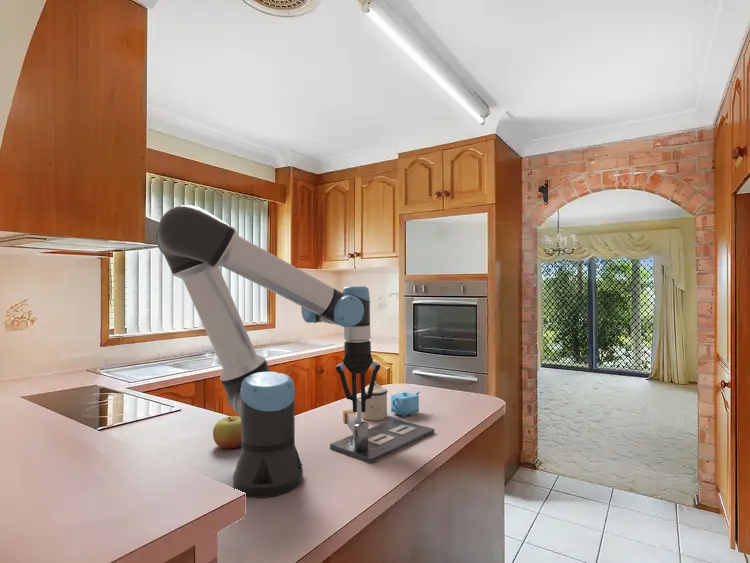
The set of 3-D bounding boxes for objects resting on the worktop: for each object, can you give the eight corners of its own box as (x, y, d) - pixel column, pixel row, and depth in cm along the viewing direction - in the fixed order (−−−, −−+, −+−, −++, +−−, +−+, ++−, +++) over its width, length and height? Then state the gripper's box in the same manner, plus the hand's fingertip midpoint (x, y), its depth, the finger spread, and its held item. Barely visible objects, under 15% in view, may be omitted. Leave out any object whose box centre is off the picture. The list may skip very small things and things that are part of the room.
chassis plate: (371, 463, 105) (371, 456, 105) (330, 448, 115) (329, 442, 115) (434, 432, 126) (434, 427, 126) (394, 422, 136) (394, 417, 136)
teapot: (414, 408, 151) (414, 387, 151) (426, 412, 146) (426, 390, 146) (387, 415, 144) (387, 392, 144) (398, 419, 139) (398, 396, 139)
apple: (213, 441, 121) (212, 413, 121) (248, 437, 124) (248, 409, 124) (212, 454, 111) (212, 424, 112) (251, 449, 115) (251, 419, 115)
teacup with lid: (379, 411, 148) (379, 377, 148) (392, 418, 140) (392, 382, 140) (348, 416, 143) (347, 381, 143) (360, 424, 135) (359, 387, 135)
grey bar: (370, 449, 110) (369, 425, 110) (354, 450, 109) (354, 427, 109) (355, 426, 128) (354, 406, 128) (341, 428, 127) (341, 407, 127)
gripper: (379, 338, 125) (381, 418, 125) (335, 339, 125) (337, 419, 125) (380, 341, 118) (382, 427, 118) (334, 342, 118) (336, 428, 117)
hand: (359, 423), depth 121 cm, fingers closed
